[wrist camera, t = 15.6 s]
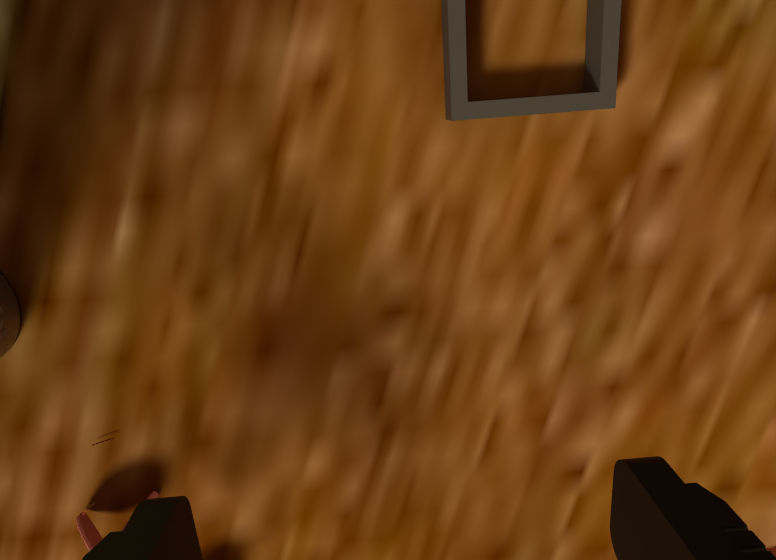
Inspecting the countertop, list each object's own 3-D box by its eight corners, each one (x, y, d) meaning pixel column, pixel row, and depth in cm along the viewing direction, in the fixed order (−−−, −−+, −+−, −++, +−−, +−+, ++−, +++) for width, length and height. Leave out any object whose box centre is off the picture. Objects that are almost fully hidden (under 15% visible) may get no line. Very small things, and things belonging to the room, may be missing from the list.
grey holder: (445, 119, 35) (451, 120, 33) (439, -57, 32) (445, -70, 29) (598, 107, 35) (615, 107, 33) (606, -69, 32) (626, -83, 30)
